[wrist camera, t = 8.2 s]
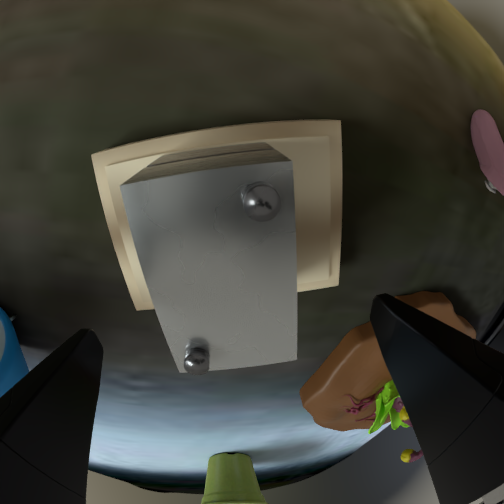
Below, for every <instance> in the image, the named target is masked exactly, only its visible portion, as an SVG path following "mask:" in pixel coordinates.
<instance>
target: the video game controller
mask: <svg viewBox="0 0 504 504" xmlns="http://www.w3.org/2000/svg"><path fill="white" fill-rule="evenodd" d="M471 138H472V142H473V146H474V149H475V152H476V155H477V158H478V160H479V163H480V165H479V166H480V169H481V170H482V172H483V173H484V175H485V176H486V177H487V179H488V181H489V182H488V181H485V184H486V187H487V188H488V189H489V191H491V192H493V193H496V191H495V189H496V190H498V191H499V192H500V193H501V194H502V195H503V196H504V143H503V141H502V139H501V136H500V133H499V131H498V128H497V126H496V123H495V121H494V119H493V118H492V116H491V115H490V114H489V113H488V112H487V111H485V110H482V109H479V110H477V111H475V112H474V113H473V115H472V119H471Z"/></svg>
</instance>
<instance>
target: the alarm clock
mask: <svg viewBox="0 0 504 504" xmlns="http://www.w3.org/2000/svg"><path fill="white" fill-rule="evenodd" d="M16 317H17V316H16V314H12V315H9V316H8V315H7V314H6V312H5V311H4V310H3V309H2V308H1V307H0V397H1V396H3V395H4V394H5V393H6V392H7V391H8V390H9V389H10V388H13V386H14V385H15V384H16V383H17V382H18V381H20V380H21V379H22V378H23V377H24V376H25V375H26V374H28V373H29V370H28V367H27V364H26V361H25V358H24V356H23V353H22V350H21V347H20V345H19V342H18V339H17V336H16V332H15V329H14V326H13V324H12V322H11V321H12V320H13V319H15V318H16Z"/></svg>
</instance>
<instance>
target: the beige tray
mask: <svg viewBox="0 0 504 504" xmlns="http://www.w3.org/2000/svg"><path fill="white" fill-rule="evenodd" d="M257 142H266V143H267V144H269V145H270V146H271V147H273V148H274V149H276V150H277V151H279V152H280V153H282V154H283V155H285V156H286V157H288V158H289V159H290V160H292V161H293V178H294V198H295V222H296V254H297V292H301V291H307V290H314V289H320V288H326V287H333V286H338V283H339V269H340V252H341V230H342V138H341V121H340V120H329V119H319V120H290V121H273V122H260V123H249V124H239V125H230V126H222V127H215V128H208V129H201V130H194V131H188V132H182V133H177V134H171V135H166V136H161V137H156V138H151V139H146V140H142V141H137V142H133V143H129V144H125V145H121V146H117V147H113V148H109V149H105V150H103V151H100V152H97V153H94V154H92V155H91V156H92V161H93V166H94V171H95V176H96V180H97V185H98V189H99V193H100V197H101V201H102V205H103V209H104V213H105V217H106V220H107V224H108V228H109V231H110V234H111V238H112V241H113V244H114V248H115V251H116V254H117V257H118V260H119V263H120V266H121V269H122V272H123V275H124V278H125V281H126V284H127V286H128V289H129V292H130V295H131V297H132V300H133V303H134V305H135V308H136V310H148V309H155V308H154V305H153V303H152V300H151V297H150V294H149V291H148V288H147V285H146V282H145V279H144V275H143V272H142V269H141V266H140V262H139V259H138V256H137V252H136V249H135V245H134V242H133V238H132V234H131V231H130V227H129V223H128V219H127V215H126V211H125V207H124V203H123V199H122V194H121V190H120V185H121V184H123V183H124V182H125V181H127V180H128V179H129V178H131V177H132V176H133V175H135V174H136V173H138V172H139V171H140V170H142V169H143V168H146V167H147V166H148V165H149V164H150V163H152V162H153V161H155V160H156V159H158V158H159V157H161V156H164V155H169V154H175V153H181V152H187V151H193V150H200V149H206V148H214V147H221V146H229V145H238V144H247V143H257Z"/></svg>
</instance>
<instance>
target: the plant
mask: <svg viewBox="0 0 504 504" xmlns="http://www.w3.org/2000/svg"><path fill="white" fill-rule="evenodd" d="M395 298H397V299H399V300H401V301H403V302H405V303H407V304H409V305H411V306H413V307H414V308H416V309H418V310H420V311H422V312H424V313H426V314H428V315H430V316H432V317H434V318H436V319H438V320H440V321H442V322H444V323H445V324H447V325H449V326H451V327H453V328H455V329H457V330H459V331H461V332H463V333H464V334H466V335H468V336H470V337H472V339H473V338H474V339H476V331H475V329H474V328H473V327H472V326H471V324H470V323H469V322H468V321H467V320H466V319H465V318H463V317H462V316H459V315H457V314H456V313H455V312H454V309H453V305H452V303H451V302H450V301H449V300H448V298H447V297H446V296H445V295H444V294H443V293H441V292H437V293H433V292H429V291H420V292H417V293H414V294H411V295H403V296H395ZM300 396H301V400H302V404H303V407H304V408H305V409H306V410H307V411H308V412H309V413H310V414H311V415H312V416H313V419H314V421H315V422H316V423H317V424H318V425H320V426H322V427H325V428H330V429H333V430H338V431H347V430H352V429H369V432H368V433H369V434H371V433H373V432H375V431H376V430H378V429H379V428H380V427H381V426H382V425H383V424H386V423H388V422H390V421H391V426H392V429H394V430H396V429H397V428H398V427H399V425H401V426H403V427H409V426H411V427H413V426H412V424H411V422H410V419H409V417H408V414H407V412H406V409H405V407H404V405H403V402H402V400H401V398H400V395H399V393H398V391H397V389H396V386H395V384H394V382H393V380H392V377H391V375H390V373H389V371H388V369H387V366H386V364H385V362H384V359H383V356H382V353H381V350H380V348H379V345H378V342H377V339H376V336H375V333H374V330H373V327H372V325H371V321H370V322H368V323H365V324H363V325H360V326H357V327H355V328H353V329H352V330H351V331H349V332H348V333H347V334H346V335H345V337H344V338H343V339H342V340H341V342H340V343H339V345H338V346H337V347H336V348H335V349H334V350H333V352H332V353H331V354H330V355H329V357H328V358H327V359H326V360H325V361H324V363H323V364H322V365H321V366H320V368H319V369H318V370H317V371H316V372H315V373H314V374H313V375H312V376H311V377H310V378H309V380H308V381H307V382H306V383H305V384H304V385H303V387H302V388H301V389H300ZM421 456H423V452H422V450H420V451H419V452H416V451H414V450H413V449H406V450H404V451H403V452H402V455H401V459H402V460H403V461H404V462H413V461H416V460H417V459H420V457H421Z"/></svg>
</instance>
